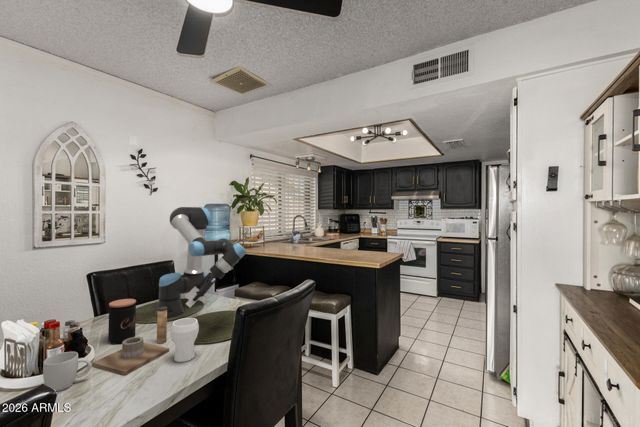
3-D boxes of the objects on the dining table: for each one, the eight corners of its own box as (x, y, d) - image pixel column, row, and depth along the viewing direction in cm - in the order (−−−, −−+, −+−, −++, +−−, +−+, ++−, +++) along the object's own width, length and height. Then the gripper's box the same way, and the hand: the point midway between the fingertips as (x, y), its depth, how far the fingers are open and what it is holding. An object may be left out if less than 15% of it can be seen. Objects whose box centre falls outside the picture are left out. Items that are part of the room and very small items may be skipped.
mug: (39, 398, 93) (40, 367, 93) (45, 384, 100) (46, 355, 100) (90, 385, 100) (90, 356, 100) (91, 373, 108) (92, 346, 108)
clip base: (138, 344, 131) (139, 328, 131) (169, 351, 125) (169, 334, 125) (91, 366, 112) (92, 347, 112) (125, 375, 106) (125, 355, 107)
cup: (171, 354, 123) (172, 319, 123) (198, 349, 128) (198, 316, 128) (169, 366, 114) (170, 328, 114) (198, 361, 118) (199, 324, 118)
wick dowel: (161, 339, 137) (162, 306, 137) (168, 340, 136) (169, 307, 136) (154, 343, 133) (155, 308, 134) (161, 344, 132) (161, 309, 132)
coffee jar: (121, 346, 130) (122, 306, 130) (102, 343, 132) (103, 304, 132) (140, 336, 140) (141, 299, 140) (122, 334, 142) (123, 297, 142)
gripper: (229, 278, 136) (194, 314, 129) (222, 269, 158) (192, 299, 152) (217, 268, 134) (181, 304, 127) (212, 260, 156) (181, 290, 149)
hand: (187, 301), depth 139 cm, fingers open, 13 cm apart
